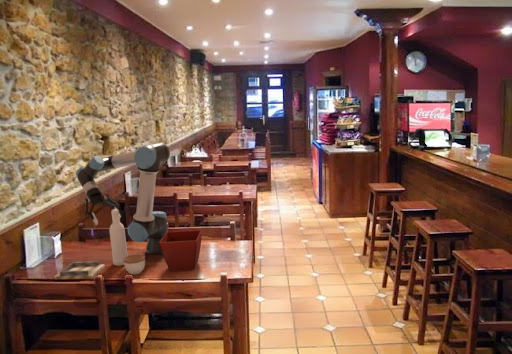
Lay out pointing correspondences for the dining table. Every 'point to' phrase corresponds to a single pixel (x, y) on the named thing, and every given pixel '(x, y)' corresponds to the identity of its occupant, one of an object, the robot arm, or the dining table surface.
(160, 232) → the robot arm
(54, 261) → the dining table surface
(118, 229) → the bottle
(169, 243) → the plant pot
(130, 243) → the dining table surface
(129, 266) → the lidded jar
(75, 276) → the shallow rectangular tray
